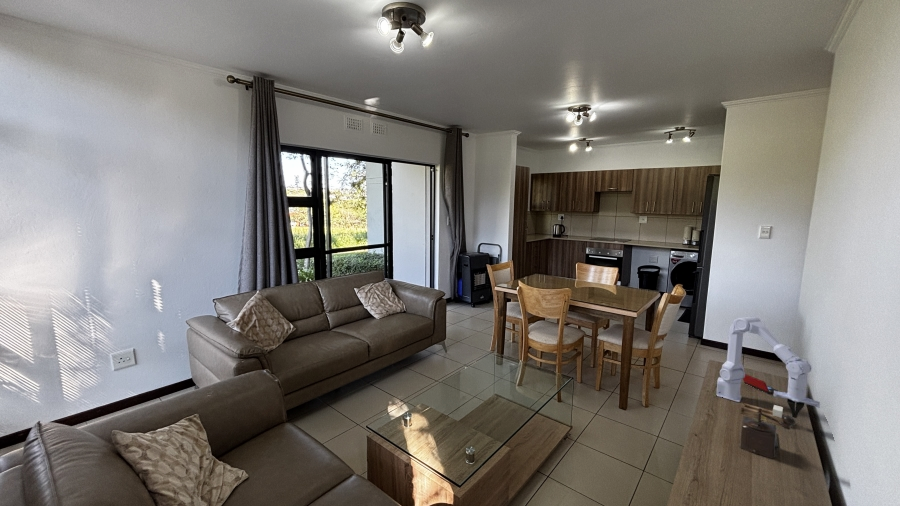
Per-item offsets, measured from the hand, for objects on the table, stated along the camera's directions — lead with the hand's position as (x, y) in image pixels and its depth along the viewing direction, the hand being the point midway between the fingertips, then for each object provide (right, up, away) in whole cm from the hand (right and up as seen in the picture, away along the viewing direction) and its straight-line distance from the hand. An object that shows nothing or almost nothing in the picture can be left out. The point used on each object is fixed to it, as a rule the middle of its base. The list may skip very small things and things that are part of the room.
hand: (794, 416), depth 158 cm
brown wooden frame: (-7, -4, +8) cm, 11 cm away
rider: (-4, -3, +4) cm, 6 cm away
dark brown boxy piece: (-26, -7, -15) cm, 31 cm away
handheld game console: (+14, -1, +35) cm, 38 cm away
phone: (-20, -6, -8) cm, 22 cm away
